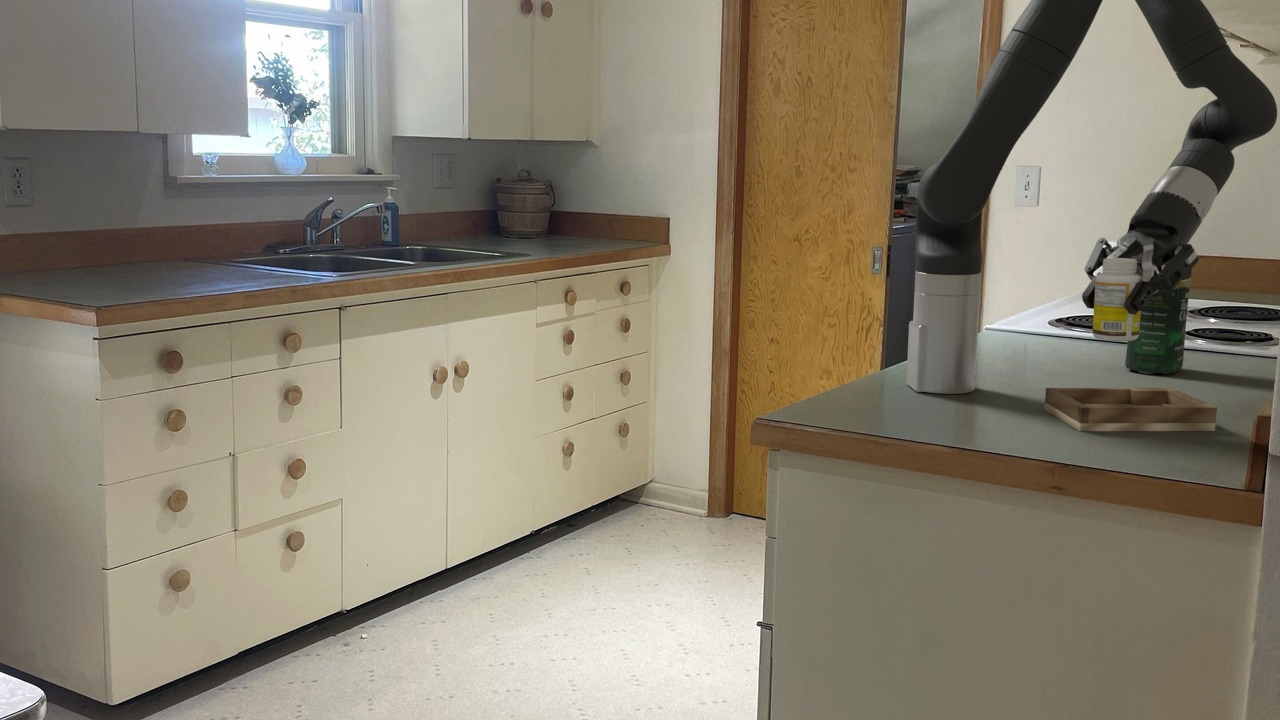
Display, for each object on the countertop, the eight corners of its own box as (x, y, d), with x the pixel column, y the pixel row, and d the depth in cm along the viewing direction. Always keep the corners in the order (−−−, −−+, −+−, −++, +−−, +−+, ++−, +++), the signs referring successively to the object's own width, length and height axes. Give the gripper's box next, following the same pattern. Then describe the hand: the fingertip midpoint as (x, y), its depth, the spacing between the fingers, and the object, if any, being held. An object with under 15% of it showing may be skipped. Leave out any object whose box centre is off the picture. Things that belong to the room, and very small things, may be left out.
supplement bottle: (1124, 334, 148) (1130, 256, 146) (1147, 341, 143) (1153, 260, 141) (1083, 335, 148) (1088, 257, 146) (1105, 342, 142) (1110, 261, 140)
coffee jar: (1172, 378, 175) (1182, 257, 171) (1119, 371, 180) (1128, 255, 176) (1188, 368, 182) (1199, 253, 179) (1137, 363, 187) (1146, 250, 184)
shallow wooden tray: (1079, 431, 141) (1081, 407, 141) (1044, 409, 153) (1046, 388, 152) (1214, 430, 141) (1217, 407, 141) (1169, 409, 153) (1171, 387, 153)
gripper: (1114, 188, 152) (1048, 282, 148) (1215, 191, 139) (1146, 294, 136) (1136, 226, 155) (1073, 319, 151) (1236, 232, 143) (1170, 333, 139)
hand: (1108, 306), depth 144 cm, fingers closed on supplement bottle, 5 cm apart
